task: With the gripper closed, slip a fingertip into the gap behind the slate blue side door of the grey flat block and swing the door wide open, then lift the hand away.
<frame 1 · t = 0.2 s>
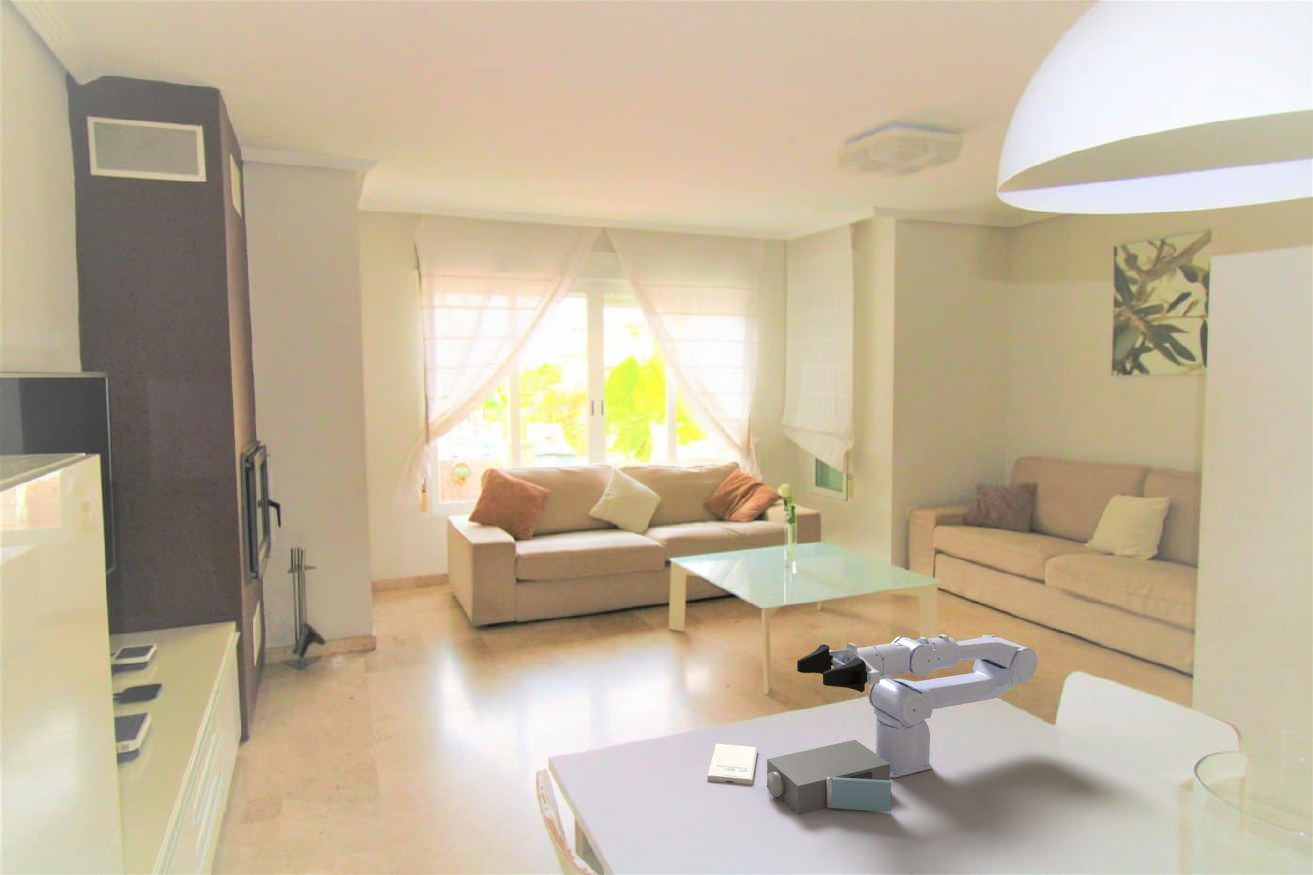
hand: (810, 672, 140), 21 cm above the table, tool horizontal, fingers open, 7 cm apart
external hard drive: (733, 769, 150), on the table
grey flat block: (827, 788, 141), on the table
side door: (858, 794, 133), point 3 cm above the table, hinge at 30.0°
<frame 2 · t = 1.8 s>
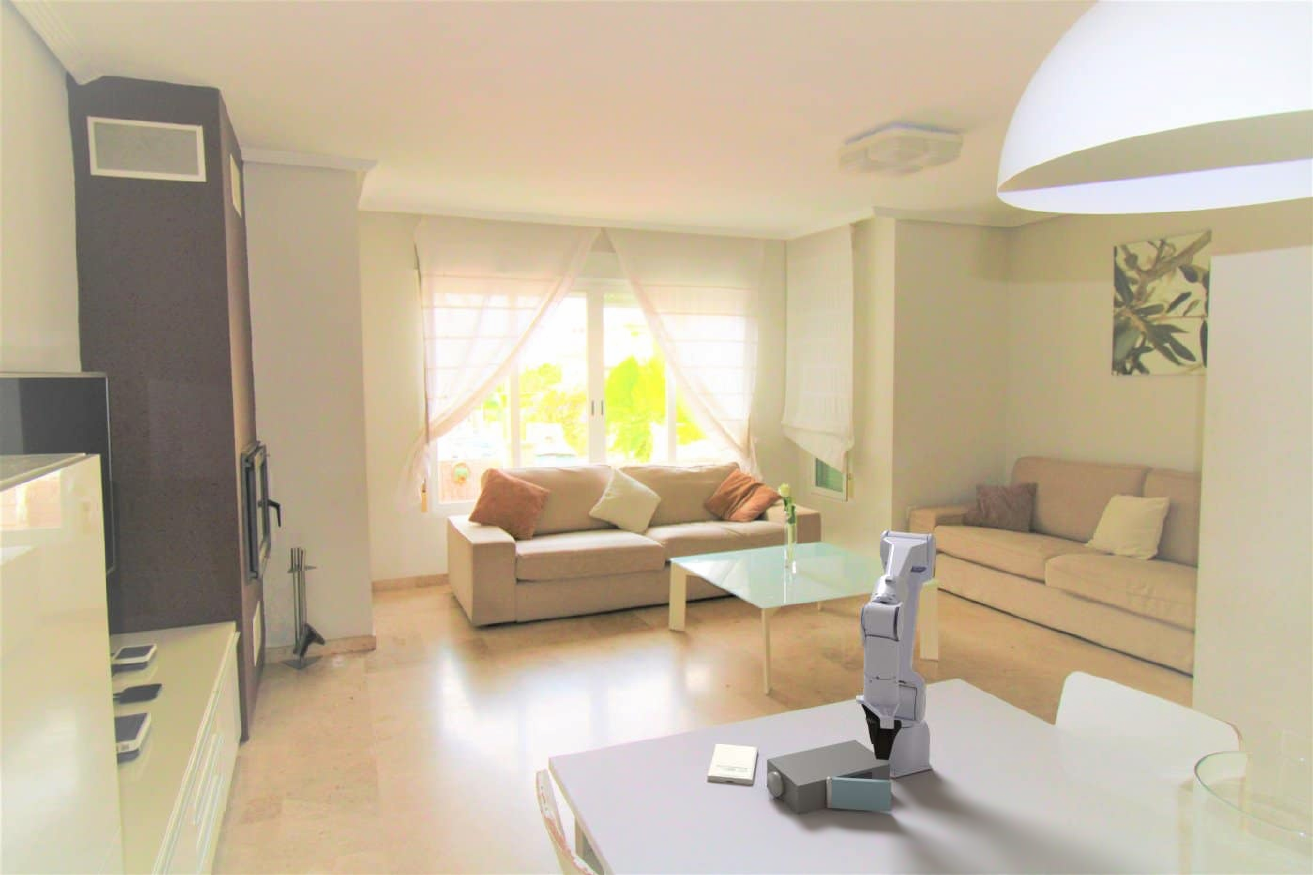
hand: (879, 751, 135), 9 cm above the table, tool pointing down, fingers open, 5 cm apart
nothing on the table moved.
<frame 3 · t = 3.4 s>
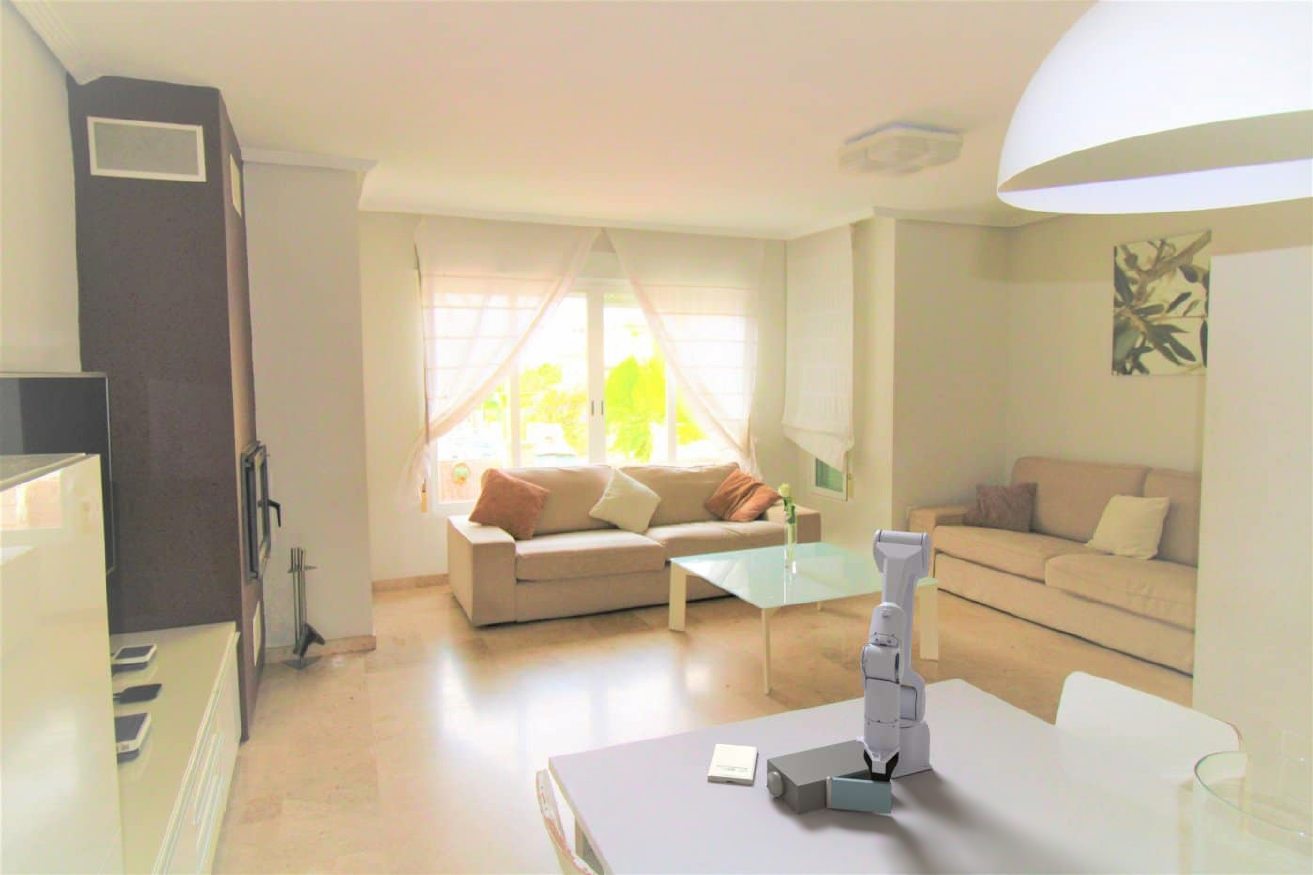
hand: (880, 794, 133), 3 cm above the table, tool pointing down, fingers closed, pressing on side door
side door: (858, 794, 133), point 3 cm above the table, hinge at 33.8°, touching gripper
everything else where it was.
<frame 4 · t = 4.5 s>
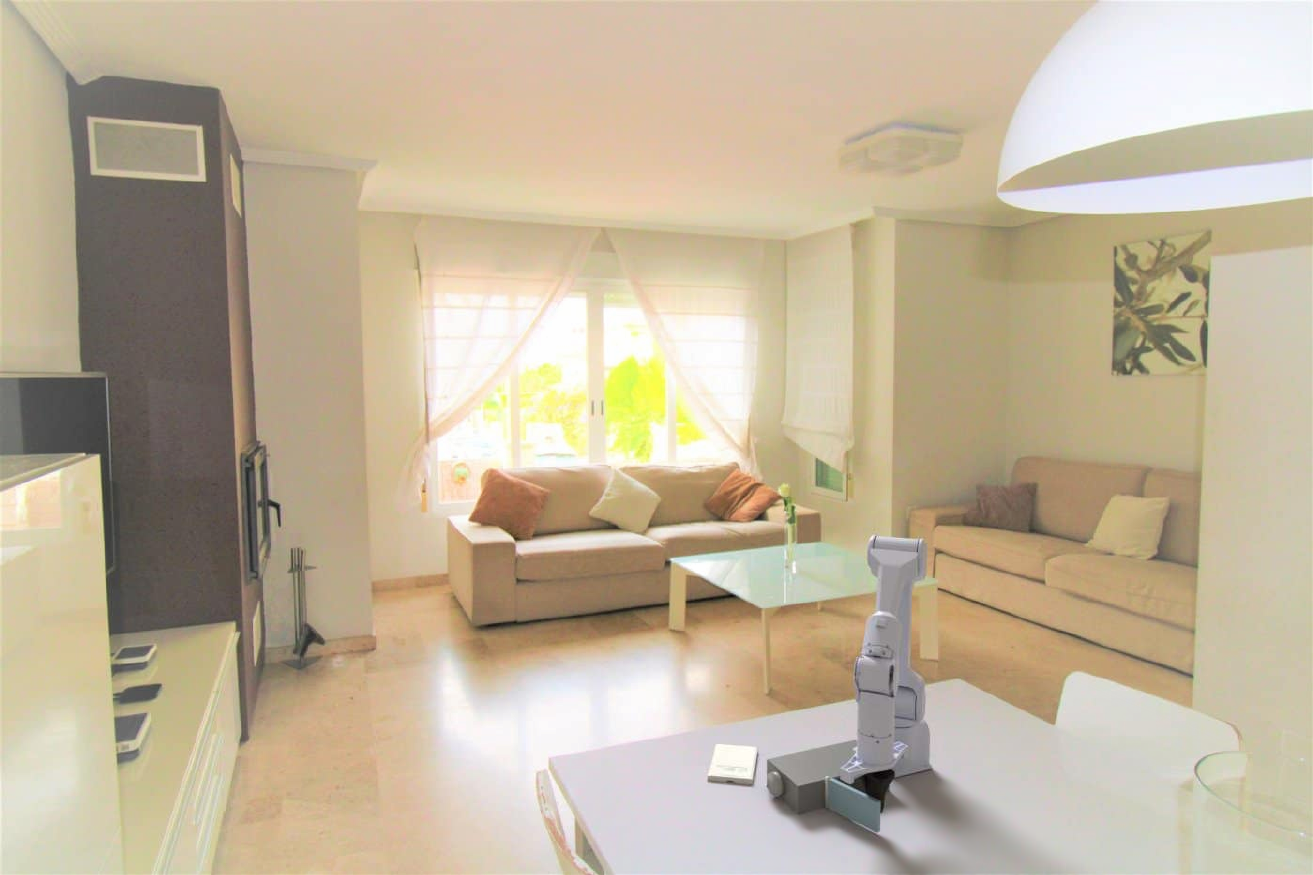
hand: (874, 811, 128), 3 cm above the table, tool pointing down, fingers closed, pressing on side door
side door: (851, 803, 131), point 3 cm above the table, hinge at 72.6°, touching gripper
everything else where it was.
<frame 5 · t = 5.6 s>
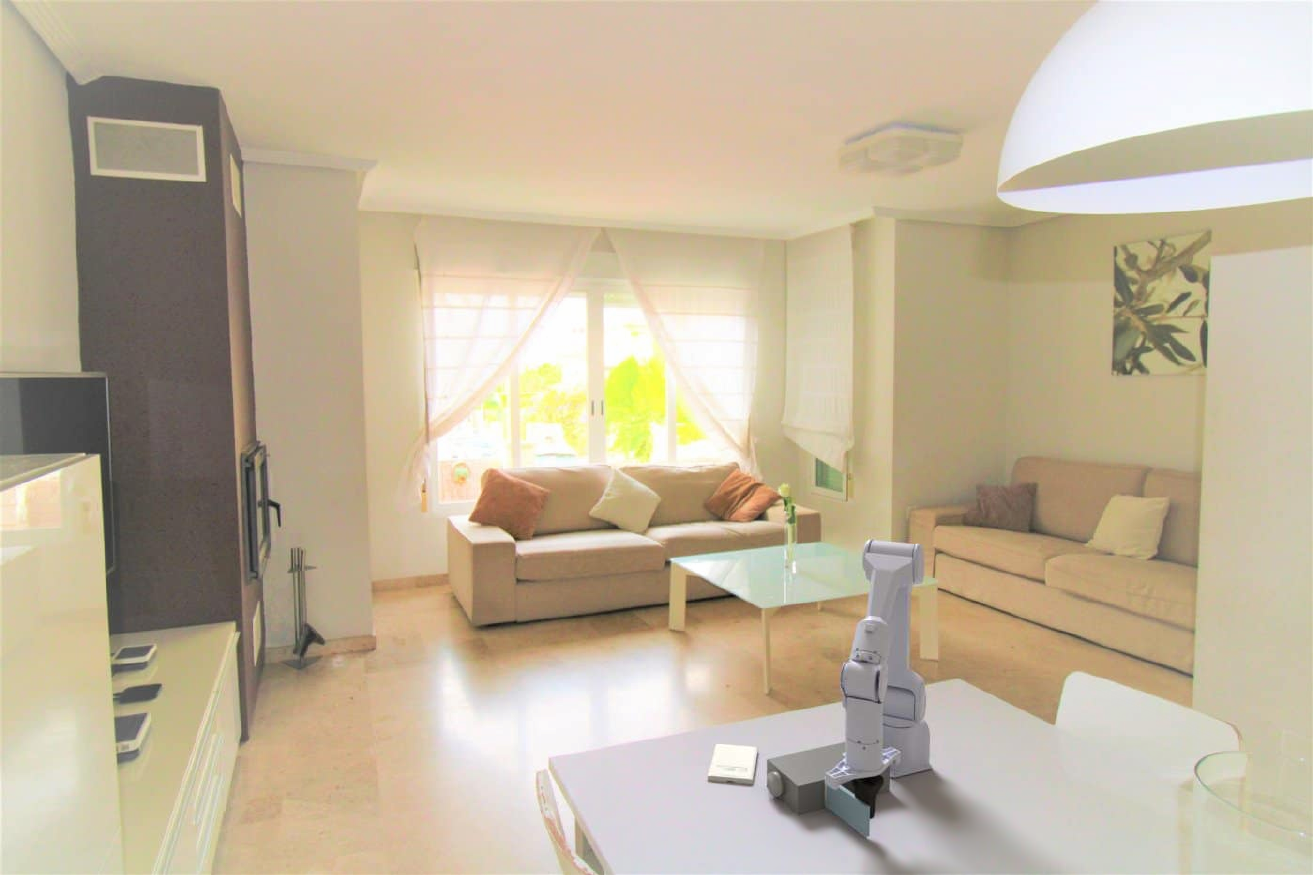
hand: (864, 816, 127), 3 cm above the table, tool pointing down, fingers closed, pressing on side door
side door: (845, 805, 130), point 3 cm above the table, hinge at 86.5°, touching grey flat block, gripper
everything else where it was.
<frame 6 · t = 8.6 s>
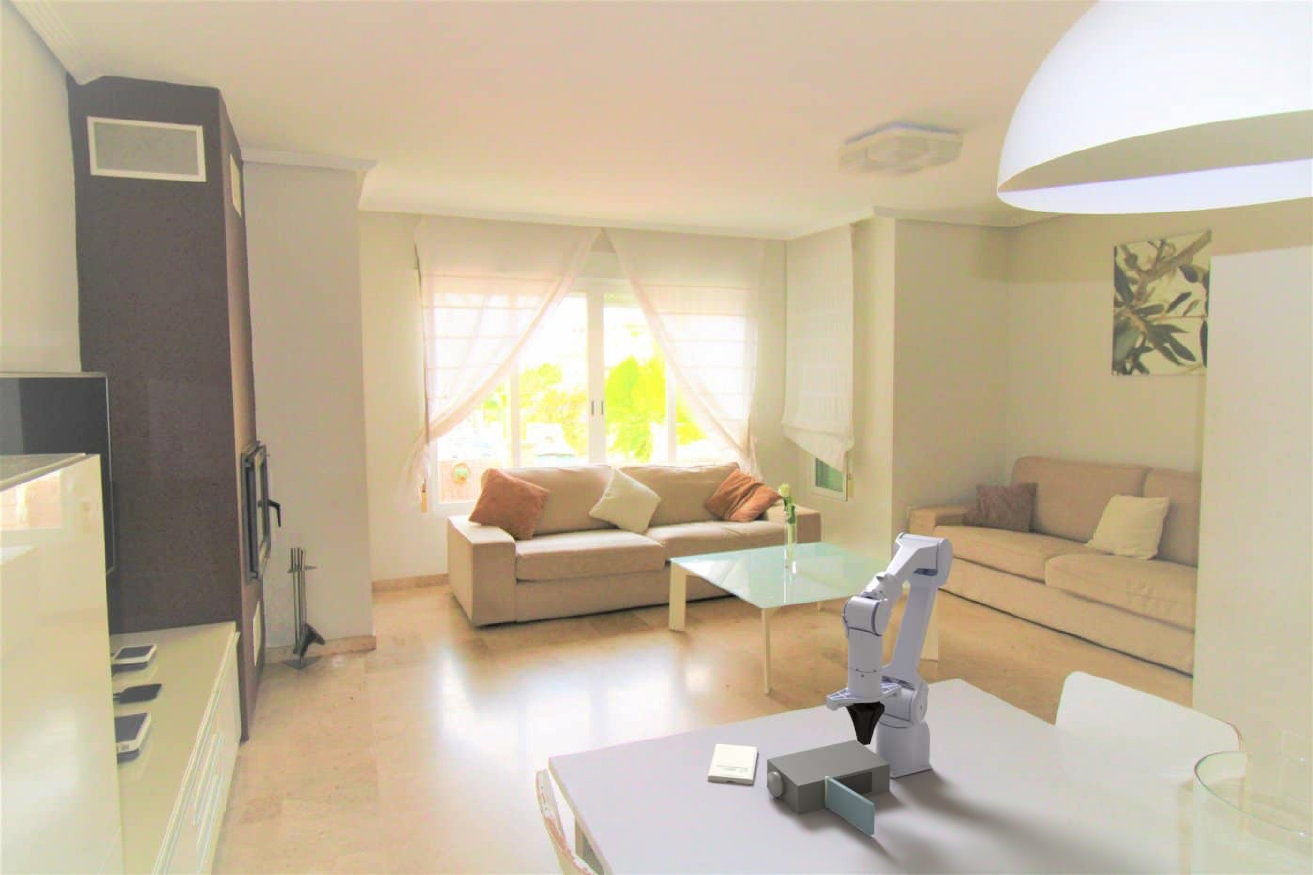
hand: (863, 742, 138), 9 cm above the table, tool pointing down, fingers closed
side door: (848, 804, 130), point 3 cm above the table, hinge at 80.6°, touching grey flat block
everything else where it was.
at the end: side door at +81° (first picture: +30°); external hard drive moved 0.8 cm from its start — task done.
